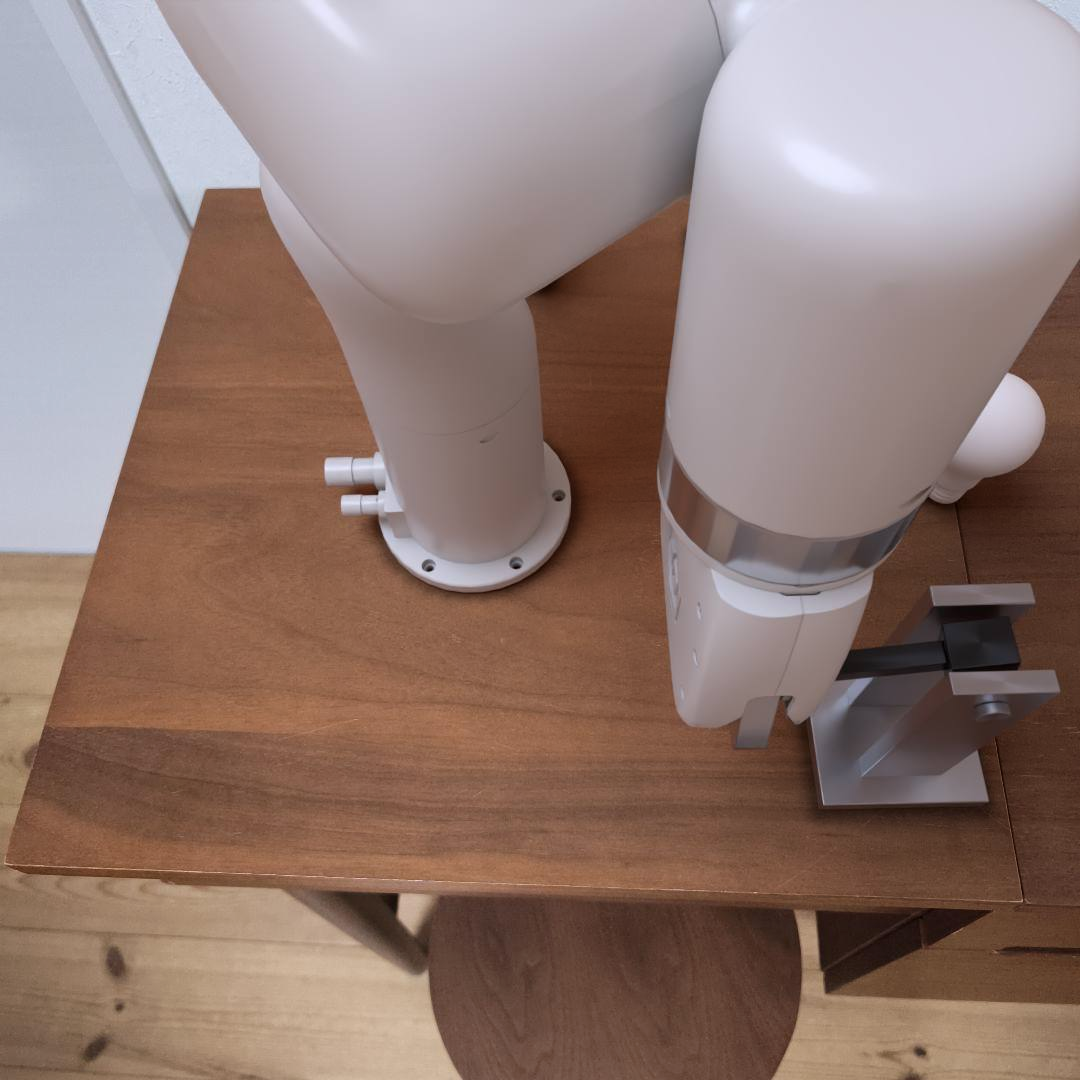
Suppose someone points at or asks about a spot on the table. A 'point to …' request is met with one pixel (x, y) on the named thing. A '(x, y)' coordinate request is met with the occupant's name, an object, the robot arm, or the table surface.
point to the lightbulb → (995, 440)
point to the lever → (941, 652)
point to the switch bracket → (923, 715)
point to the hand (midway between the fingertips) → (715, 671)
